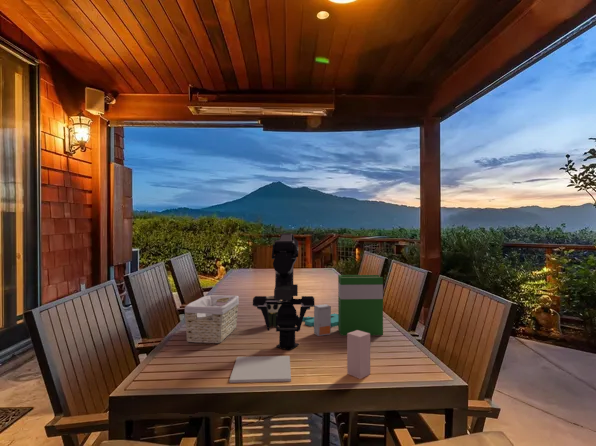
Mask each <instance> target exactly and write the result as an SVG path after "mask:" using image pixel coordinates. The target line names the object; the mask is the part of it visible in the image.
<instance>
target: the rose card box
mask: <svg viewBox="0 0 596 446" xmlns="http://www.w3.org/2000/svg"><path fill="white" fill-rule="evenodd" d="M346 336H347V337H346V344H347V345H346V346H347V347H346V348H347V349H346V351H347V352H346V353H347V355H346V356H347V359H346V360H347V361H346V362H347V363H346V367H347V368H346V369H347V370H346V371H347V373H346V374H347V375H350V376H352V377H354V378H357V379H360V380H361V379H363V378H365V377H367V376H369V375H371V335H370V333H366V332H363V331H359V330H356V331H353V332H350V333H347V335H346Z"/></svg>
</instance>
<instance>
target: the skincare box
mask: <svg viewBox="0 0 596 446" xmlns="http://www.w3.org/2000/svg"><path fill="white" fill-rule="evenodd" d="M331 312H332V306H331V305H329V304H327V303H325V304H315V305H314V307H313V317H314V326H313V334H314V335H316V336H317V337H320V336H321V337H322V336H328V335H329V336H330V335H331V333H332V332H331V331H332V330H331V329H332V327H331V314H332V313H331Z"/></svg>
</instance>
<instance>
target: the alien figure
mask: <svg viewBox="0 0 596 446" xmlns="http://www.w3.org/2000/svg"><path fill="white" fill-rule="evenodd" d="M303 322H304V325H306V326H308V327H314V316H304V317H303V321H302V323H303ZM337 326H338V313H331V328H334V327H337Z"/></svg>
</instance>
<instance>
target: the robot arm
mask: <svg viewBox="0 0 596 446" xmlns="http://www.w3.org/2000/svg"><path fill="white" fill-rule="evenodd" d="M294 236H295V235H294V233H291V232H290V233H289V232H288V233H284V232H283V233H280V235H279V239H278V240H274V243H272V250H271V259H272V260H273V261H272V266H273V269H274V272H275V275H274V276H275V277H274V278H275V280H274V281H275V282H274V283H275V284H274V290H273V296H274V298H275V299H267V296H265V295H260V296H259V295H254V297H253V298H252V306H253V307H255V308H256V309H257V310H260V311H261V313H262V316H263V318H264V322H265V326H266V329H267V332H269V331H270V326H269V313H268V308H267V305H281V306H280V308H279V309H278V315H276V326H275V332H277V333H279V335H278V336H279V337H278V338H279V339H278V341H279V343H278V344H276V345H275V347H276V348H278V349H282V350H284V349H285V350H289V351H291V350H293V349H294V348H296V347H298V346H299V345H300V344H299V343H297V342H296V332H300V331H301V327H302V324H303V322H304V321H303V317H305V315H306V313H307V311H308V310H309V311H310V310H311V308H314V306H315V305H316V303H315V297H314V296H312V295H309V296H308V295H301V298H294V297H298V294H299V293H298V291H299V290H298V289H299V287H298V285H299V284H297V283H295V284H294V265H295V263H296V261H297V259H298V258H299V241H298V239H296V238H295V237H294ZM279 300H281V301H279ZM295 305H296V306H297V305H300V310H299V315H298V314H297V312H298V311H297V309H296V307H295ZM302 321H303V322H302Z"/></svg>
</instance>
